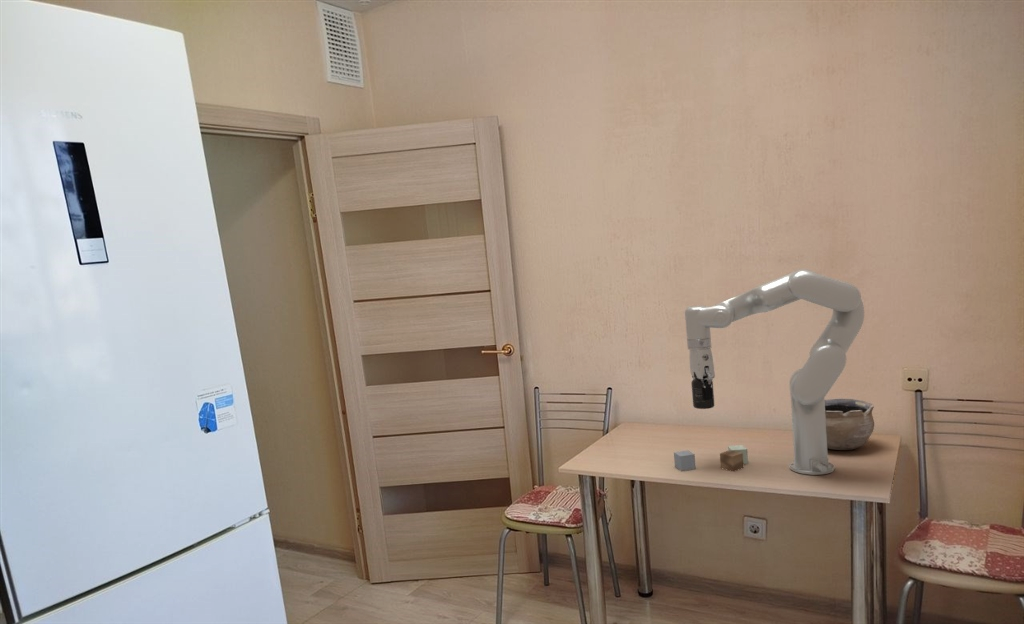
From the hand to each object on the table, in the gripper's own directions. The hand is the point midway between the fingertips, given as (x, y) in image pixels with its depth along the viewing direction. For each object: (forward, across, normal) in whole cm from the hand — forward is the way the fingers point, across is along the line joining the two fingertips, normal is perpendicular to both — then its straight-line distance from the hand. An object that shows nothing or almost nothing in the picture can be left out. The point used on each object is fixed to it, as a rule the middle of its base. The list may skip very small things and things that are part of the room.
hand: (703, 397), depth 210 cm
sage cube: (+23, 0, -10) cm, 25 cm away
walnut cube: (+23, -5, -6) cm, 24 cm away
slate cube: (+23, 0, +8) cm, 24 cm away
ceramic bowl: (+24, +4, -48) cm, 53 cm away
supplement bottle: (+4, 0, 0) cm, 4 cm away
